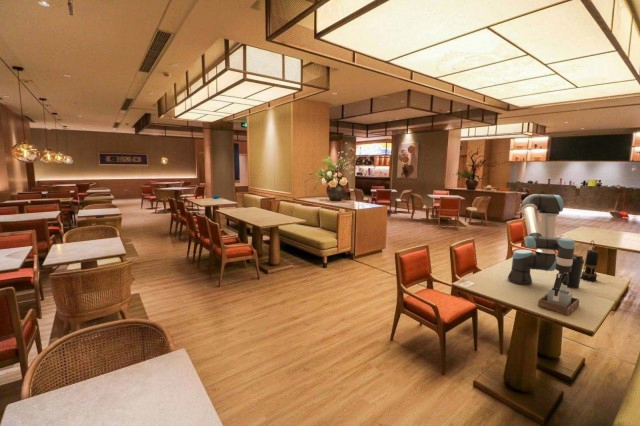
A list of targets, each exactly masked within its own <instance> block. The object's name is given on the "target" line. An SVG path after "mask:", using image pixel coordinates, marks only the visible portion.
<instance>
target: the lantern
mask: <svg viewBox="0 0 640 426" xmlns="http://www.w3.org/2000/svg"><path fill="white" fill-rule="evenodd" d="M592 243H593V245H592V246H591V247H592V248H591V249H586V251H587V252H586V257H585V260H584V264H583V266H584V267H583V269H582V273H581V278H580V280H582V279H583V280H582V281H585V280H586V281H585V282H590V281H592V282H591V283H596V282H597V277H599V275H598V274H597V269H598V263H599V253H600V251H598V250H596V249H595V248H594V247H595V241H594V240H591V241H590V244H592ZM595 281H596V282H595Z"/></svg>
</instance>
